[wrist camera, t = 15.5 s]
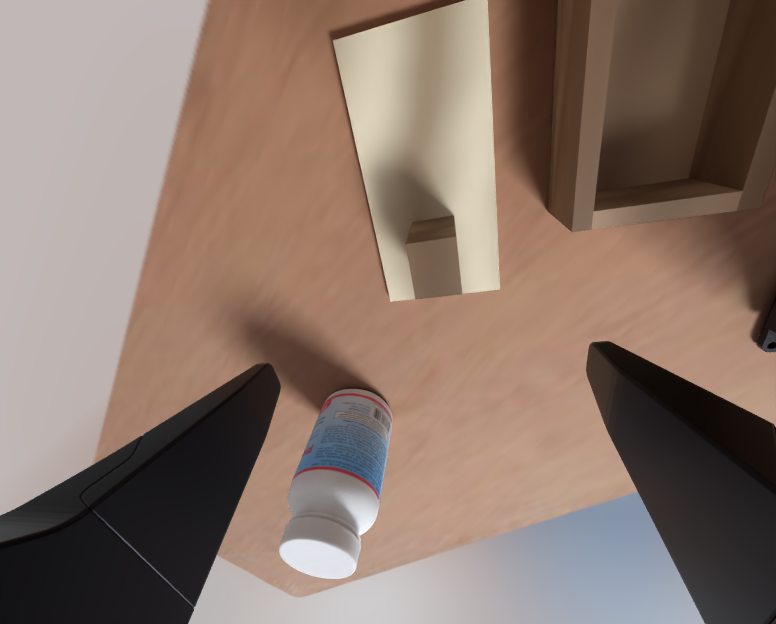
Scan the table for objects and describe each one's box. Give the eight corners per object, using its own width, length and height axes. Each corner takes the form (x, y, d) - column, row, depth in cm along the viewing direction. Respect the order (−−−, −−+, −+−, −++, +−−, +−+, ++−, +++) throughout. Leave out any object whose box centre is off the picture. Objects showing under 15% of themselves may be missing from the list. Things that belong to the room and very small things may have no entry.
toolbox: (883, -305, 10) (1257, -666, 5) (735, 184, 16) (846, 209, 12) (515, -167, 12) (560, -340, 8) (515, 215, 19) (538, 246, 14)
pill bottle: (317, 384, 28) (251, 526, 18) (389, 385, 26) (359, 537, 17) (331, 434, 30) (280, 579, 21) (397, 437, 29) (375, 591, 20)
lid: (484, 1, 15) (501, -48, 11) (497, 282, 21) (511, 323, 17) (338, 44, 16) (301, 18, 12) (392, 294, 23) (380, 335, 19)
